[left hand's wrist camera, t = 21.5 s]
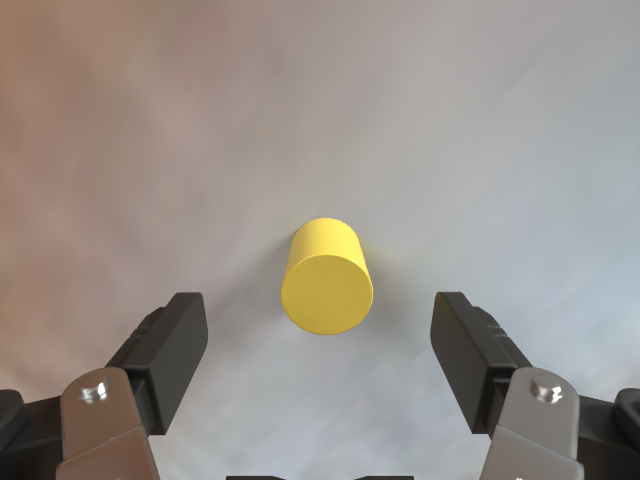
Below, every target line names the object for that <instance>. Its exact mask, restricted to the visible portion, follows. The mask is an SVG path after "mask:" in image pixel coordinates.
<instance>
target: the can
mask: <svg viewBox="0 0 640 480" xmlns="http://www.w3.org/2000/svg"><path fill="white" fill-rule="evenodd" d="M372 300H373V288H372V284H371V280H370V277H369V274H368V270H367V267H366V263H365V260H364V257H363V253H362V250H361V247H360V243H359V240H358V238H357V236H356V234H355V233H354V231H353V230H352V229H351V228H350V227H349V226H347V225H346V224H345V223H343V222H341V221H338V220H335V219H329V218H322V219H316V220H313V221H311V222H308V223H307V224H305V225H304V226H302V227H301V228H300V229H299V230H298V231H297V233H296V234H295V236H294V238H293V240H292V243H291V247H290V252H289V256H288V261H287V265H286V269H285V274H284V278H283V282H282V287H281V302H282V306H283V308H284V311H285V312H286V314H287V316H288V317H289V318H290V320H291V321H292V322H293V323H295V324H296V325H297V326H298V327H300V328H302V329H303V330H306V331H308V332H311V333H314V334H319V335H334V334H339V333H343V332H345V331H348V330H350V329H352V328H353V327H355V326H356V325H358V324H359V323H360V322H361V321H362V320H363V319H364V318H365V316H366V315H367V313H368V312H369V309H370V307H371V304H372Z"/></svg>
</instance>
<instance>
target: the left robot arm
mask: <svg viewBox="0 0 640 480" xmlns="http://www.w3.org/2000/svg"><path fill="white" fill-rule="evenodd" d="M430 337H431V344H432V347H433V350H434V352H435V354H436V356H437V359H438V361H439V363H440V365H441V367H442V369H443V372H444V374H445V376H446V378H447V380H448V382H449V385H450V387H451V389H452V391H453V393H454V395H455V397H456V400H457V402H458V404H459V406H460V408H461V410H462V413H463V415H464V417H465V419H466V421H467V423H468V426H469V428H470V430H471V432H472V434H488V435H489V437H490V439H491V444H490V448H489V451H488V454H487V457H486V461H485V464H484V467H483V470H482V473H481V477H480V480H640V389H635V388H627V389H623V390H620V391H619V392H618V394H617V397H616V399H615V401H614V403H611V402H607V401H602V400H598V399H594V398H589V397H585V396H581V395H578V393H577V392H576V390H575V389H574V388H573V387H572V386H571V385H570V384H569V383H568V382H567V381H565V380H564V379H563V378H561V377H559V376H558V375H556V374H554V373H552V372H549V371H547V370H544V369H540V368H535V367H533V366H532V365H531V363H530V362H529V361H528V360H527V358H526V357H525V356H524V355H523V354H522V352H521V351H520V350H519V349H518V347H517V346H516V345H515V344H514V342H513V341H512V340H511V339H510V338H509V337H507V334H506V333H505V331H504V330H503V329H502V328H500V325H499V324H498V323H497V322H496V320H495V319H494V318H493V317H492V315H490V314H489V313H487V312H485V311H484V310H482V309H481V308H479V307H473V306H472V305H471V304H470V302H469V301H468V300H467V298H466V297H465V296H464V294H463V293H461V292H438V293H437V294H436V297H435V303H434V310H433V316H432V323H431V331H430ZM207 341H208V328H207V322H206V315H205V308H204V302H203V297H202V294H201V293H199V292H178V293H176V294H175V295H174V296H173V298H172V299H171V300H170V302H169V303H168V304H167V306H166V307H159V308H158V309H156V310H155V311H153V312H152V313H150V314H149V315H147V316H146V317H145V318H144V320H143V321H142V322H141V323H140V324H139V326H138V328H137V329H135V331H134V332H133V333H132V334H131V335H130V338H128V339H127V340H126V342H125V343H124V344H123V345H122V346H121V348H120V349H119V350H118V351H117V352H116V354H115V355H114V356H113V357H112V359H111V360H110V361H109V362H108V363H107V365H106V366H105V367H104V368H100V369H96V370H93V371H91V372H88V373H86V374H84V375H82V376H81V377H79V378H77V379H76V380H75V381H73V382H72V383H71V384H70V385H69V386H68V387H67V388H66V389H65V390H64V392H63V393H62V395H61V396H57V397H53V398H49V399H44V400H40V401H36V402H31V403H27V404H25V403H24V401H23V399H22V396H21V394H20V393H19V392H18V391H16V390H9V389H6V390H0V480H160V477H159V473H158V470H157V467H156V464H155V461H154V457H153V454H152V451H151V448H150V444H149V441H148V437H149V435H165V434H166V432H167V430H168V428H169V426H170V424H171V422H172V420H173V417H174V415H175V413H176V411H177V409H178V407H179V405H180V402H181V400H182V398H183V396H184V394H185V392H186V390H187V388H188V385H189V383H190V381H191V379H192V377H193V375H194V373H195V370H196V368H197V366H198V364H199V362H200V360H201V358H202V356H203V353H204V351H205V349H206V346H207ZM226 480H285V479H281V478H278V477H274V476H227V477H226ZM355 480H414V477H413V476H366V477H362V478H359V479H355Z"/></svg>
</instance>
